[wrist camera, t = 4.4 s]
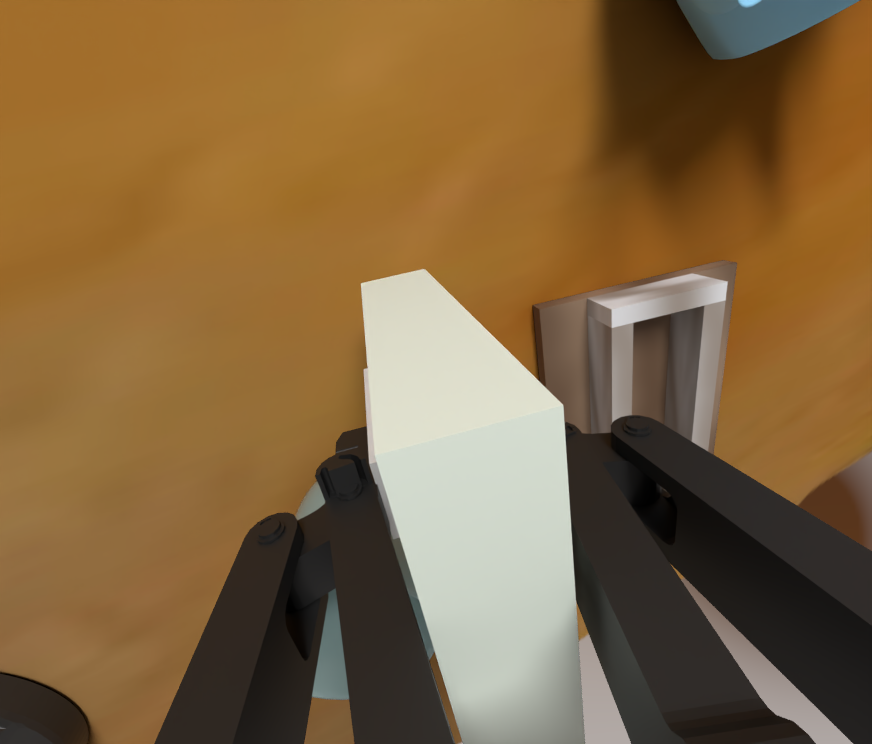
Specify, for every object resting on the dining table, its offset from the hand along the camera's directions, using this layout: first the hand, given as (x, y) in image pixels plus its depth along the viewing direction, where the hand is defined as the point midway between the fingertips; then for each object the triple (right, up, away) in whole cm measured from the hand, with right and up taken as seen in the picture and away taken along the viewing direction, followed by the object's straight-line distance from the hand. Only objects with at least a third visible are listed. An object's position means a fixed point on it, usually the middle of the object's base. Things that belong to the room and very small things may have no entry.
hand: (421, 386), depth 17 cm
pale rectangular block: (0, 0, +1) cm, 1 cm away
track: (+14, -3, +11) cm, 18 cm away
